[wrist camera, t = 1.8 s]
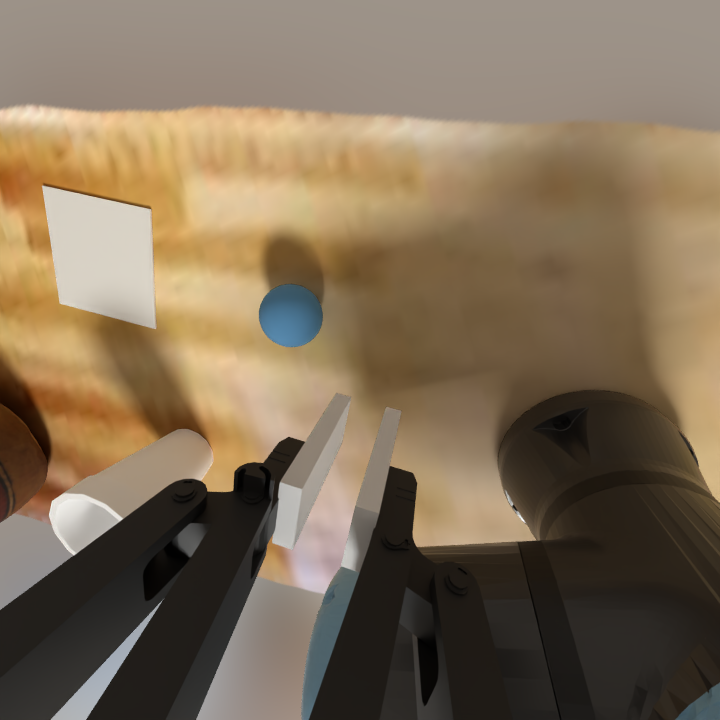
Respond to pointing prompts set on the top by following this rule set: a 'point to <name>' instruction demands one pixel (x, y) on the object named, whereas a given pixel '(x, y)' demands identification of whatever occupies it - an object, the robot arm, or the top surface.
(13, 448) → the ceramic pitcher
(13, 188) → the top surface
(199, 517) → the robot arm
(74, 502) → the foam cup
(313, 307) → the ball
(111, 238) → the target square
